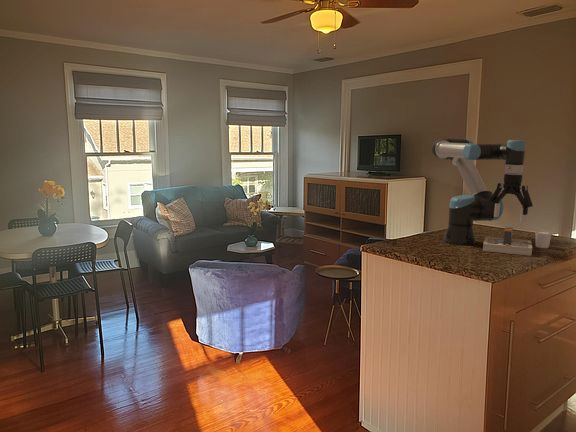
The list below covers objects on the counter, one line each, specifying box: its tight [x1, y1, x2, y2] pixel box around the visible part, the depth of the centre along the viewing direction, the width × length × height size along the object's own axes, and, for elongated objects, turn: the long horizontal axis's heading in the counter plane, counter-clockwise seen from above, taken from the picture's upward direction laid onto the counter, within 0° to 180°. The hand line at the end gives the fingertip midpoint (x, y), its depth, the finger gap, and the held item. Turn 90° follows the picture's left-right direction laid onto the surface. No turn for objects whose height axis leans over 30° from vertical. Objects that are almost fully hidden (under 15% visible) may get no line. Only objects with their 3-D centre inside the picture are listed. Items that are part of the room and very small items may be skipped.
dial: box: [494, 226, 522, 246], centre depth 211 cm, size 12×12×8 cm
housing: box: [482, 236, 533, 257], centre depth 212 cm, size 20×18×4 cm
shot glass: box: [534, 231, 552, 249], centre depth 217 cm, size 7×7×7 cm
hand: (509, 219), depth 210 cm, fingers open, 13 cm apart
